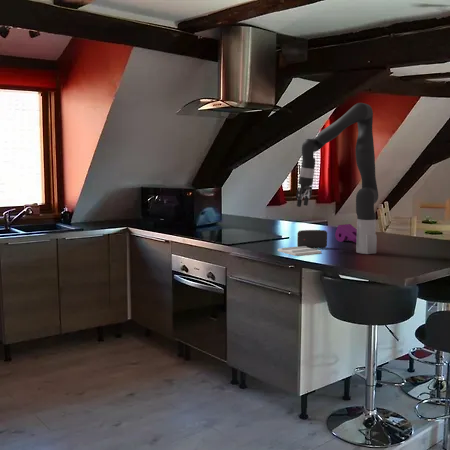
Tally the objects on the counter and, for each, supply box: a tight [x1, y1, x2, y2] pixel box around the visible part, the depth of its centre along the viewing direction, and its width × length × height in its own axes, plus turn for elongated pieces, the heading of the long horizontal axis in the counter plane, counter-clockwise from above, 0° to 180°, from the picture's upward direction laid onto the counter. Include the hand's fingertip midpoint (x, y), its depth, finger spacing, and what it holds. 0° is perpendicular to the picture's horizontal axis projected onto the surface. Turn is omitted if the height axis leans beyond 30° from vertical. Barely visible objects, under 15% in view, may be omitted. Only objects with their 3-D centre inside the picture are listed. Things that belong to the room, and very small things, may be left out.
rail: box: [281, 246, 318, 252], centre depth 279 cm, size 10×15×1 cm, turn 117°
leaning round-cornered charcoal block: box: [296, 229, 328, 249], centre depth 293 cm, size 16×5×9 cm, turn 96°
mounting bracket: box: [334, 223, 357, 244], centre depth 313 cm, size 10×8×18 cm
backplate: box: [277, 247, 322, 257], centre depth 279 cm, size 16×16×1 cm
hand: (302, 205), depth 295 cm, fingers open, 8 cm apart
